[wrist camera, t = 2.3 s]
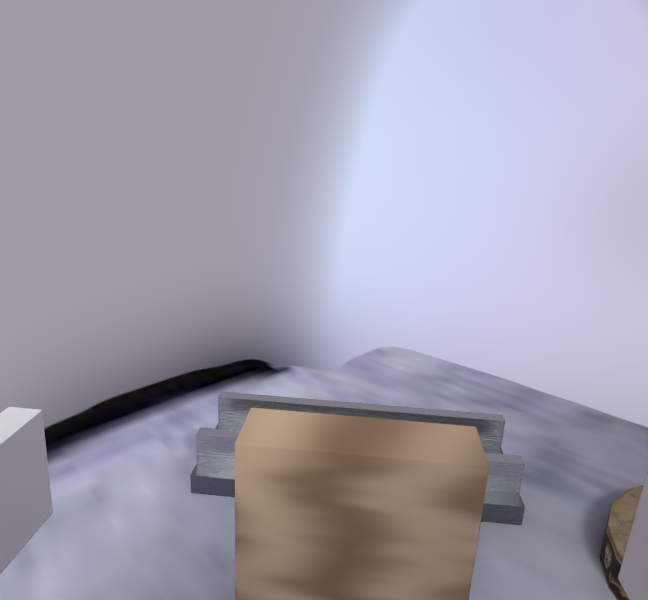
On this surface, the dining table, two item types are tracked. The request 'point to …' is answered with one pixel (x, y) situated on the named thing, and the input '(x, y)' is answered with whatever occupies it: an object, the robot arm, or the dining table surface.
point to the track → (219, 443)
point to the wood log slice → (618, 538)
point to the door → (355, 507)
